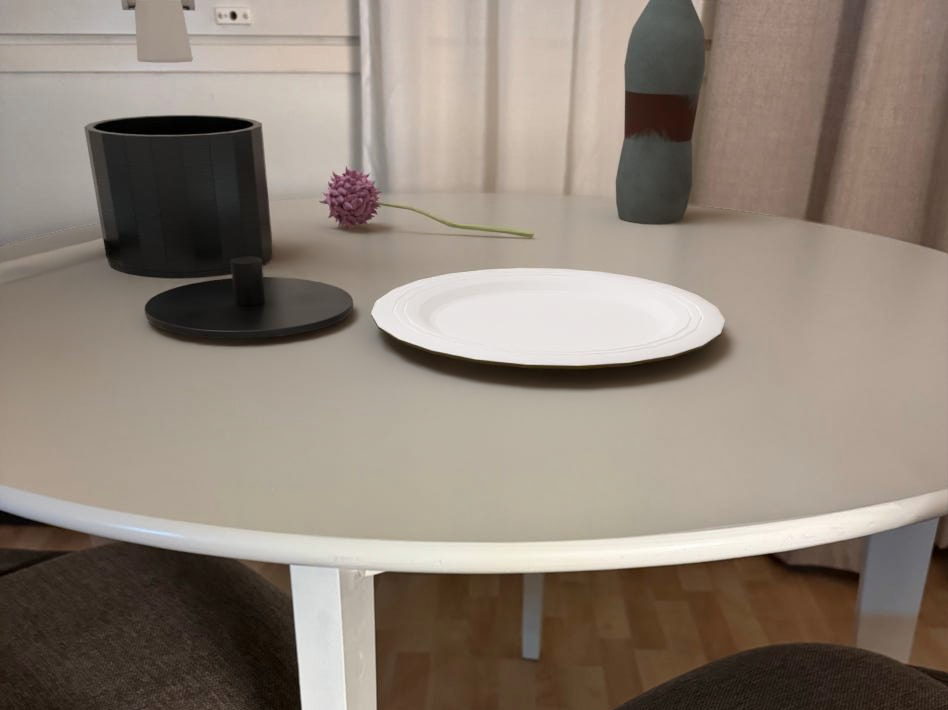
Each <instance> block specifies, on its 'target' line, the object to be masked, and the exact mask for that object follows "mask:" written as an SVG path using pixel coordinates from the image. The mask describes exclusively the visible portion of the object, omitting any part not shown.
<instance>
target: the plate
mask: <svg viewBox="0 0 948 710" xmlns="http://www.w3.org/2000/svg"><path fill="white" fill-rule="evenodd" d="M370 316H371V318H372V320H373V321H374V323H375V325H376V327H377V329H378V330H380V331H382V332H383V333H385V334H386V335H388V336H390V337H391V338H392V339H394V340H396V341H397V342H399V343H401V344H404V345H407V346H410V347H412V348H415V349H418V350H421V351H425V352H426V353H429V354H432V355H436V356H441V357H447V358H451V359H456V360H461V361H466V362H471V363H475V364H483V365H492V366H493V365H494V366H501V367H509V368H518V369H520V368H521V369H530V370H561V371H562V370H566V371H569V370H587V369H589V370H590V369H601V368H602V369H603V368H618V367H631V366H636V365H642V364H649V363H654V362H659V361H666V360H671V359H673V358H677V357H679V356H682V355H685V354H689V353H692V352H694V351H695V352H696V351H697V350H701V349H702V348H705V347H706V346H707V345H708V344H710V343H712V342H713V341H714V340H716V339H718V338H719V337H721V335H722V332H723V330H724V327H725V323H726V319H725V318H724V316H723V314H722V313H721V311H720V310H719V308H718V307H717V306H716V305H714V304H713V303H711V302H710V301H708V300H706V299H704V298H703V297H701V296H700V295H698V294H696V293H693V292H691V291H689V290H685V289H682V288H680V287H677V286H674V285H671V284H667V283H663V282H660V281H655V280H651V279H646V278H642V277H638V276H631V275H625V274H618V273H611V272H606V271H605V272H604V271H596V270H595V271H594V270H584V269H571V268H549V267H548V268H546V267H512V268H511V267H510V268H492V269H491V268H490V269H488V268H487V269H478V270H469V271H461V272H451V273H445V274H441V275H440V274H439V275H436V276H432V277H431V276H430V277H427V278H422V279H418V280H417V279H416V280H415V281H412V282H409V283H406V284H404V285H401V286H397V287H396V288H393V289H391V290H390V291H389V292H387V293H385V294H384V295H383V296H382V297H380V298H379V299H377V300H376V301H375V302H374V305H373V307H372V310H371V312H370Z"/></svg>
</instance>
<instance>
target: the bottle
mask: <svg viewBox="0 0 948 710" xmlns="http://www.w3.org/2000/svg"><path fill="white" fill-rule="evenodd" d="M624 59H625V60H624V70H623V71H624V127H623V128H624V132H623V133H624V134H623V135H624V136H623V141H622V144H621V145H622V146H621V151H620V155H619V159H618V160H619V161H618V166H617V170H616V171H617V172H616V177H615V205H616V210H617V216H618V218H619V219H620V220H622V221H626V222H629V223H637V224H645V225H646V224H647V225H665V224H673V223H679V222H681V221H683V219H684V217H685V214H686V211H687V208H688V205H689V201H690V196H691V192H692V187H693V141H692V140H693V134H694V128H695V122H696V116H697V110H698V106H699V100H700V95H701V94H700V93H701V88H702V84H703V78H704V76H705V75H704V74H705V71H706V37H705V30H704V26H703V24H702V22H701V19H700V17H699V14H698V12H697V10H696V7H695V5H694V3H693V1H692V0H648V2H647V3H646V5H645V7H644V8H643V10H642V12H640V15H639V17H638V18H637V20H636V21H635V22H634V24H633V26H632V29H631V32H630V35H629V39H628V42H627V48H626V53H625V58H624Z"/></svg>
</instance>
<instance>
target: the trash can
mask: <svg viewBox="0 0 948 710" xmlns="http://www.w3.org/2000/svg"><path fill="white" fill-rule="evenodd" d="M83 129H84V135H85V139H86V140H85V141H86V146H87V153H88V157H89V163H90V170H91V175H92V181H93V187H94V194H95V199H96V205H97V211H98V216H99V223H100V229H101V235H102V240H103V241H102V242H103V246H104V253H105V257H106V259H107V263H108V266H109V267H110V268H112V269H113V270H117V271H119V272H120V273H121V272H123V273H126V274H129V275H130V274H131V275H135V276H142V277H153V278H203V277H214V276H223V275H229V274H230V275H231V274H232V272H231V262H230V260H231V259H233V258H236V257H243V256H253V257H259V258H261V259H262V266H263V265H266V264H267V263H270V261H272V259H273V257H274V253H273V252H274V251H273V250H274V244H273V233H272V232H273V231H272V222H271V211H270V200H269V187H268V177H267V166H266V155H265V142H264V131H263V123H262V122H261V121H258V120H256V119H250V118H246V117H245V118H244V117H239V116H238V117H237V116H225V115H208V114H207V115H205V114H163V115H162V114H161V115H160V114H159V115H158V114H157V115H140V116H127V117H125V116H124V117H118V118H117V117H115V118H109V119H102V120H98V121H94V122H90V123H88V124H86V125H85V126H84V127H83Z"/></svg>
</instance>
